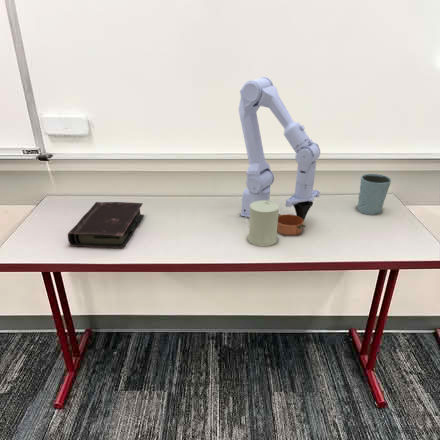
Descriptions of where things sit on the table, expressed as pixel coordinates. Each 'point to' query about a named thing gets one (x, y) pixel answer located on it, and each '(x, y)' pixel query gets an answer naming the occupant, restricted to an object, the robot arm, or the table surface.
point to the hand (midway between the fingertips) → (300, 221)
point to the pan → (289, 224)
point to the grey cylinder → (372, 193)
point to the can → (263, 223)
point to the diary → (106, 225)
